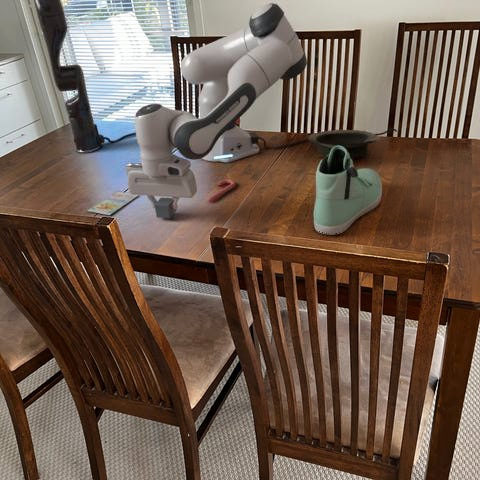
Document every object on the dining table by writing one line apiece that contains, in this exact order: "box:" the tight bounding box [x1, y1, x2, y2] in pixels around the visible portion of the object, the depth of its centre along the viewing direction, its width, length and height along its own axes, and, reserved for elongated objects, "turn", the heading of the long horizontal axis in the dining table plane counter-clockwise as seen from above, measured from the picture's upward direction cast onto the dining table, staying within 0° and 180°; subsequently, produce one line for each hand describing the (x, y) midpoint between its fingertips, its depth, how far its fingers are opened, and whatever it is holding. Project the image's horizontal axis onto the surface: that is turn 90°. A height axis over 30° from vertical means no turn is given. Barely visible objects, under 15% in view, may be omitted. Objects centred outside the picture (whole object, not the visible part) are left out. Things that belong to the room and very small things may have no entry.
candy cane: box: [207, 178, 236, 203], centre depth 154 cm, size 6×15×2 cm, turn 145°
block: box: [154, 197, 177, 219], centre depth 141 cm, size 4×5×4 cm
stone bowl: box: [307, 129, 380, 162], centre depth 171 cm, size 25×25×9 cm
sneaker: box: [313, 146, 383, 236], centre depth 133 cm, size 14×35×20 cm, turn 152°
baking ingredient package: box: [87, 191, 139, 216], centre depth 152 cm, size 9×1×15 cm
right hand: (165, 208), depth 141 cm, fingers closed on block, 4 cm apart
